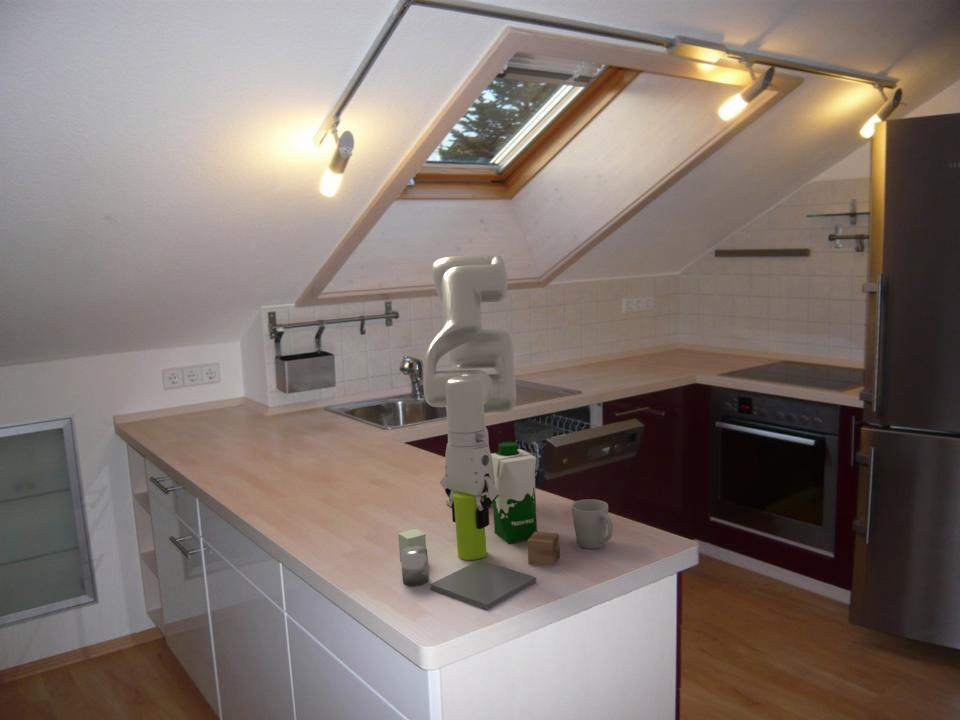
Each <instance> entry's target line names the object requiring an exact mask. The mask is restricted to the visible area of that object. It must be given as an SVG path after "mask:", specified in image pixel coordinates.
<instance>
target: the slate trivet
mask: <svg viewBox="0 0 960 720" xmlns="http://www.w3.org/2000/svg"><path fill="white" fill-rule="evenodd" d="M535 583H537V576H534V575H530V574H528V573H524V572H522V571H518V570H514V569H511V568H508V567H504V566H501V565H499V564H496V563H492V562H489V561H486V560H484V559H483V560H482V559H478V560H477V561H475V562H473V563H471V564H468V565H466V566H465V567H462V568H460V569H458V570H457V571H454V572H452V573H450V574H448V575H446V576H444V577H442V578H440V579H438V580H436V581H434V582H432V583H430V584H429V585H430V586H429V587H430V590H431V591H435V592H437V593H440V594H442V595H445V596H448V597H450V598H453V599H455V600H459V601H462V602H464V603H467V604H470V605H472V606H475V607H478V608H480V609H483V610H486V611H488V610H489V609H491V608H493V607H495V606H497V605H498V604H500V603H501V602H503V601H506V600H508V599H509V598H511V597H513V596H514V595H516V594H518V593H521V591H523V590H525V589H527V588H528V587H530V586H532V585H534V584H535Z"/></svg>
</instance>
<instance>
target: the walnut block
mask: <svg viewBox="0 0 960 720" xmlns="http://www.w3.org/2000/svg"><path fill="white" fill-rule="evenodd" d="M526 541H527V561H528V565H534V566H544V567H554V566H555V565H556V563H557V562H558V560H559V559H560V555H561V554H560V533H555V532H545V531H538V530H537V531H535V532H534V533H533V534H532V536H531V537H530V538H529V539H528V540H526Z"/></svg>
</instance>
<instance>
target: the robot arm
mask: <svg viewBox="0 0 960 720" xmlns="http://www.w3.org/2000/svg"><path fill="white" fill-rule="evenodd" d="M504 261H505V260H504V259H503V258H502V256H500V255H498V254H481V255H479V254H478V255H475V254H474V255H455V256H454V255H452V256H446V257H442V258H439V259H437V260H436V261H434V262H433V265H431V267H432V268H431V273H432V274H431V275H432V281H433V285H434V287H435V288H434V289H435V291H436V293H437V295H438V298H439V299H440V300H439V301H440V303H441V305H442V324H443V325H442V329H441V330H440V331H439V332H438V333H437V334H436V336H434V338H433V339H432V340H431V342H430V344H429V345H428V347H427V349H426V352H425V354H424V357H423V365H422V366H423V367H422V370H423V374H422V375H423V379H422V381H423V382H422V383H423V385H422V386H423V396H424V399H425V401H426V404H428V405H429V406H431V407H434V408H445V409H446V427H447V444H446V447H445V448H446V449H445V457H444V477H443V478H442V479H441V480H440V482H439V483H440V485H441V487H442V488H443V490H444V491H445V494H446V496H447V497H446V499H445V501H446V505H447V506H449V507H451V515H452V519H451V520H452V522H453V523H455V510H454V498H453V494H454V492H461V491H462V492H463V493H465V494H468V495H472V496H474V497H475V501H476V504H477V507H478V510H476V527H477V529H482V528H484V527H485V528H486V527H488V526H489V525H490V514H489V513H490V512H489V508H491V506H492V507H493V502H494V501H495V500H496V499H497V497H498V496H499V495H500V493H499V491H498V490H497V489H496V487H495V479H494V469H493V462H492V457H491V454H492V453H491V448H490V444H489V443H490V441H489V430H488V427H486V424H485V422H486V421H485V415H486V414H503V413H504V414H505V413H509V412H512V411H513V410H514V409H515V407H516V404H517V384H516V383H517V382H516V368H515V354H514V353H515V352H514V343H513V339H512V336H511V334H510V332H508V331H507V330H505V329H503V328H485V329H483V321H482V307H481V305H482V304H481V303H498V302H503V301H504V300H505V299H506V296H507V294H508V284H509V283H508V275H507V268H506V265H505V264H506V263H505V262H504ZM446 354H447V358H448V361H449V364H450V366H451V367H452V368H454V370H438V371H437V365H438V363H439V361H440V360H441V358H442V357H443V356H445V355H446ZM455 369H457V370H455ZM483 369H493V370H494V371H495V373H487V372H486V371H484V370H483ZM481 496H482V497H483V502H482V500H481Z"/></svg>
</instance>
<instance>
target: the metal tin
mask: <svg viewBox="0 0 960 720" xmlns="http://www.w3.org/2000/svg"><path fill="white" fill-rule="evenodd" d="M401 561H402V562H401V576H402V583H403V585H404V586H407V587H421V586H424V585H427V583H429V580H430V578H429V577H430V576H429V575H430V573H429V559H428V549H427V547H426V548H425V547H422V546H411V547H407V548H404V549H403V550H402V551H401Z"/></svg>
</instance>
